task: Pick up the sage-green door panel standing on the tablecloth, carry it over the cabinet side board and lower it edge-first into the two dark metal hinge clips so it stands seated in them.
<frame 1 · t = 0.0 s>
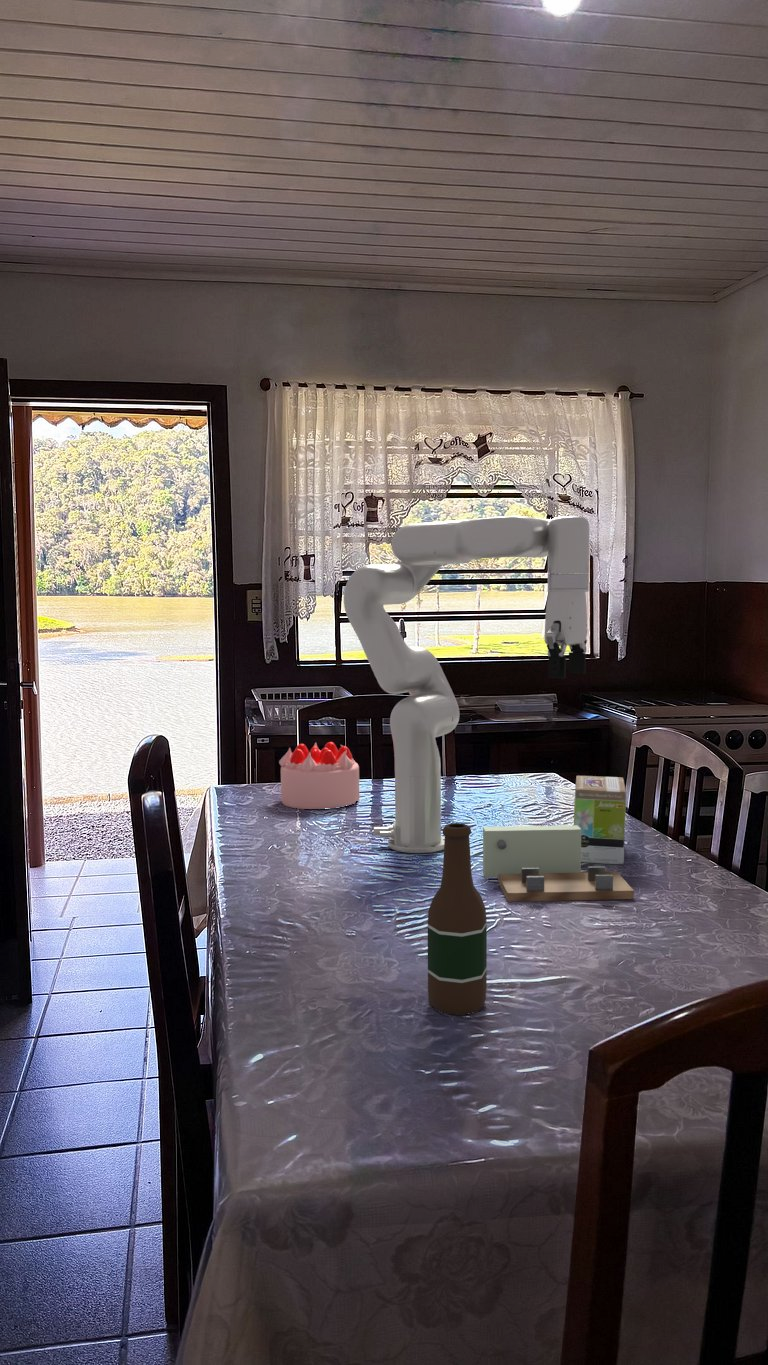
hand: (567, 675, 185), 37 cm above the table, tool pointing down, fingers open, 9 cm apart
beer bottle: (457, 1005, 130), on the table
cabinet side: (563, 890, 176), on the table
cake: (319, 802, 248), on the table
tea box: (598, 854, 199), on the table
hinge clips: (566, 878, 174), on the cabinet side, point 3 cm above the table
door: (531, 874, 186), on the table
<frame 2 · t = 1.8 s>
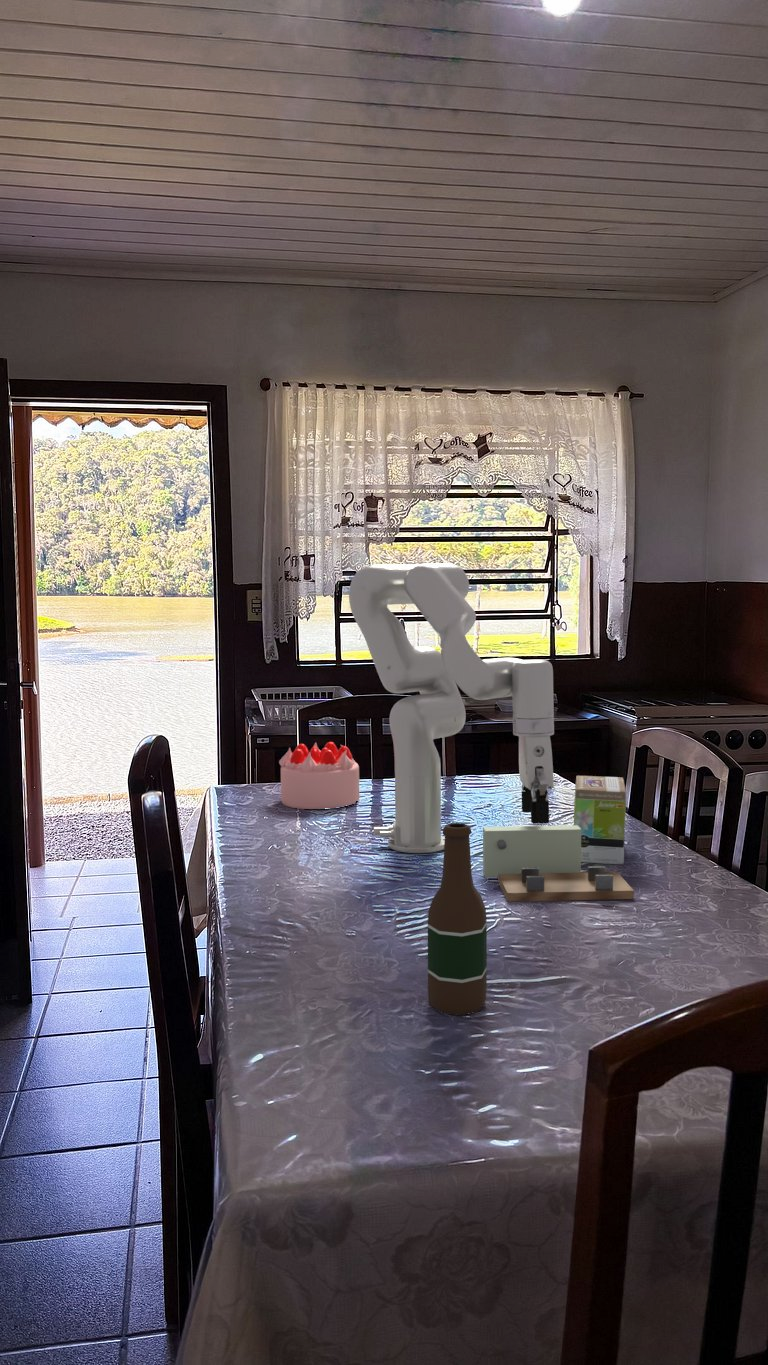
hand: (535, 817, 184), 11 cm above the table, tool pointing down, fingers open, 9 cm apart
nothing on the table moved.
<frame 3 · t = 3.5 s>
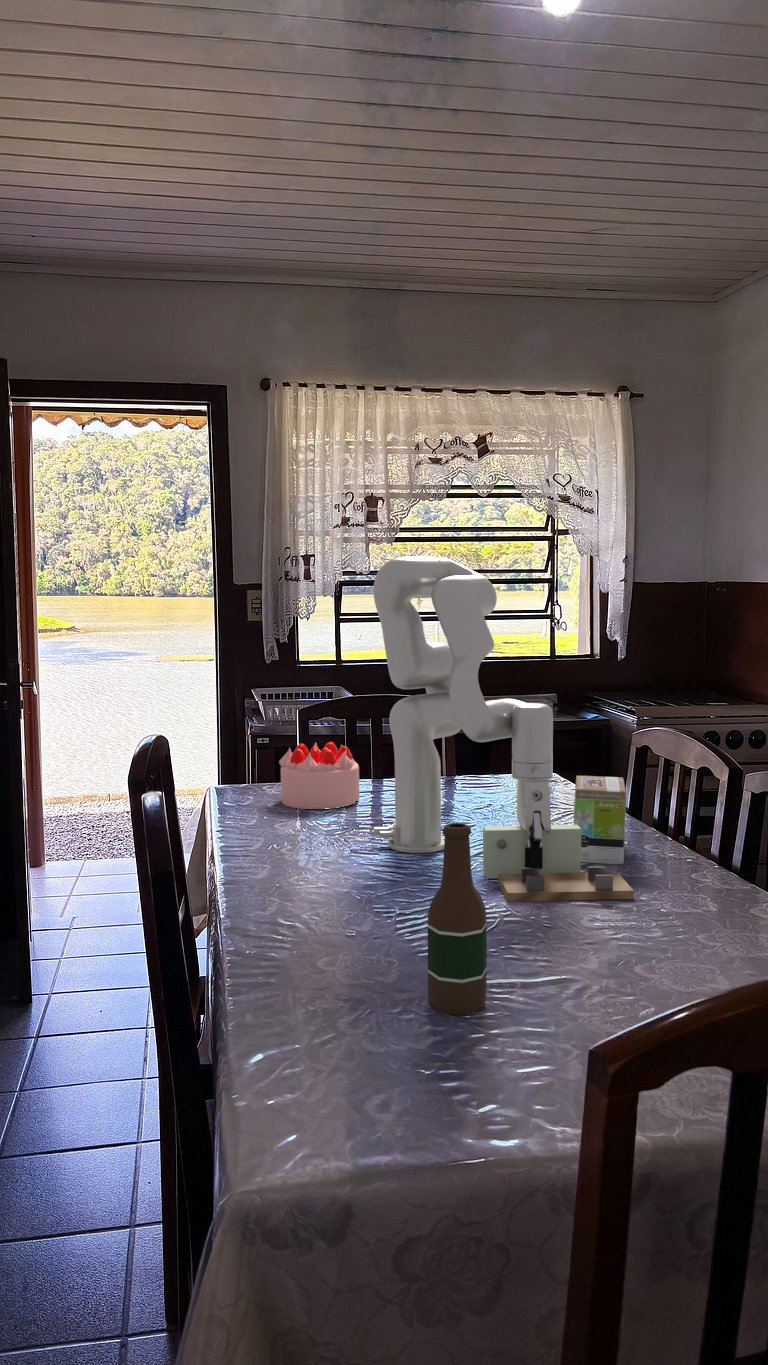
hand: (531, 864, 186), 2 cm above the table, tool pointing down, fingers closed on door, 3 cm apart
door: (531, 874, 186), on the table, touching gripper
everything else where it was.
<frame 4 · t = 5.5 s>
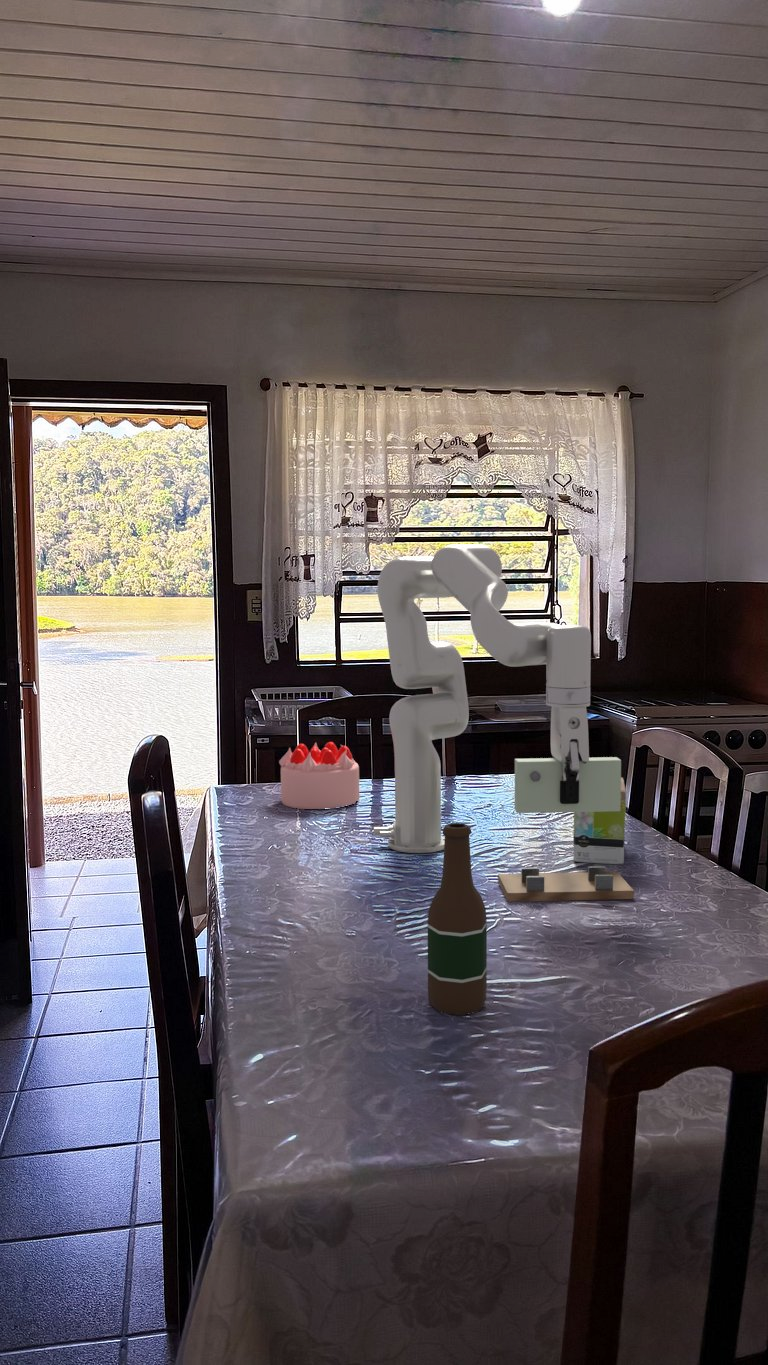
hand: (567, 800, 172), 17 cm above the table, tool pointing down, fingers closed on door, 3 cm apart
door: (567, 810, 173), point 15 cm above the table, touching gripper
everything else where it was.
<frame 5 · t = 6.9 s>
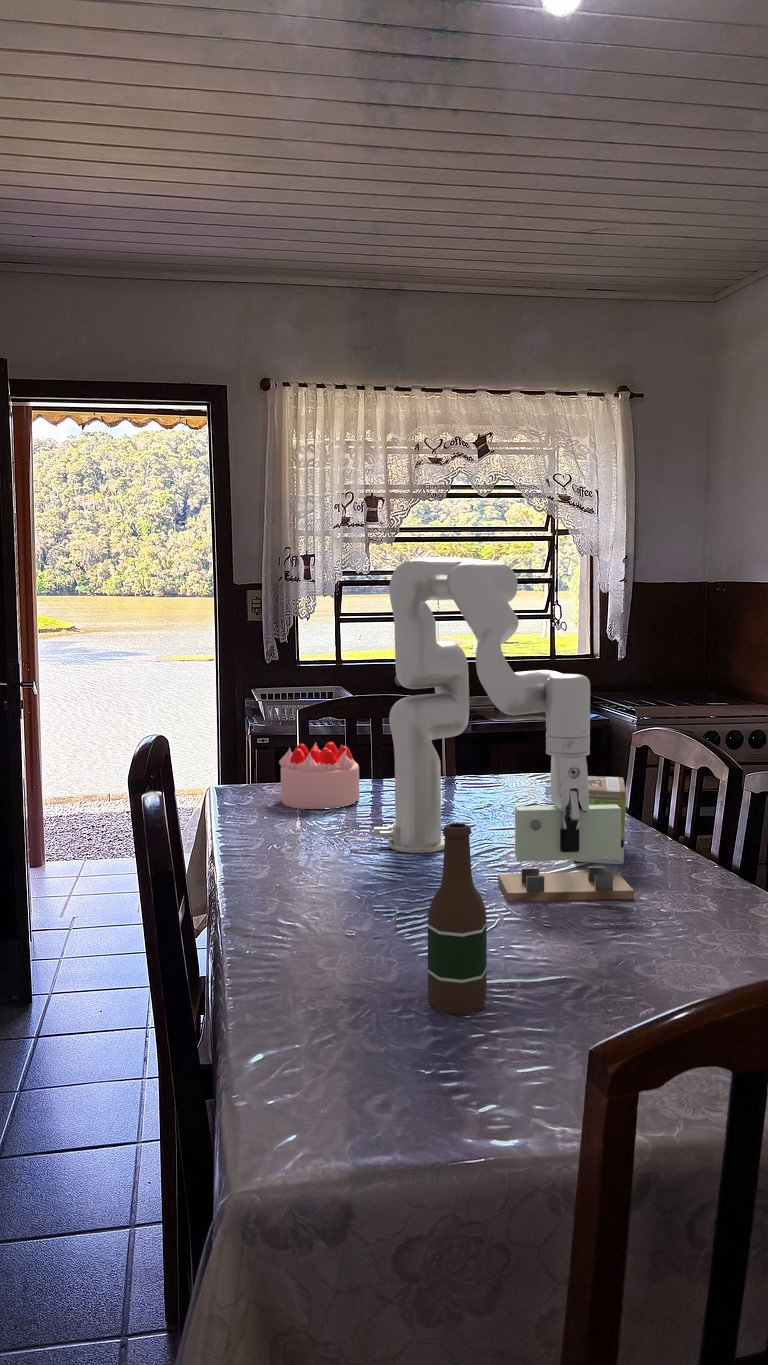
hand: (567, 847, 173), 8 cm above the table, tool pointing down, fingers closed on door, 3 cm apart
door: (567, 857, 173), point 7 cm above the table, touching gripper
everything else where it was.
when the fingers open (5 cm above the table, at t = 7.8 s): door drops 2 cm, resting on cabinet side.
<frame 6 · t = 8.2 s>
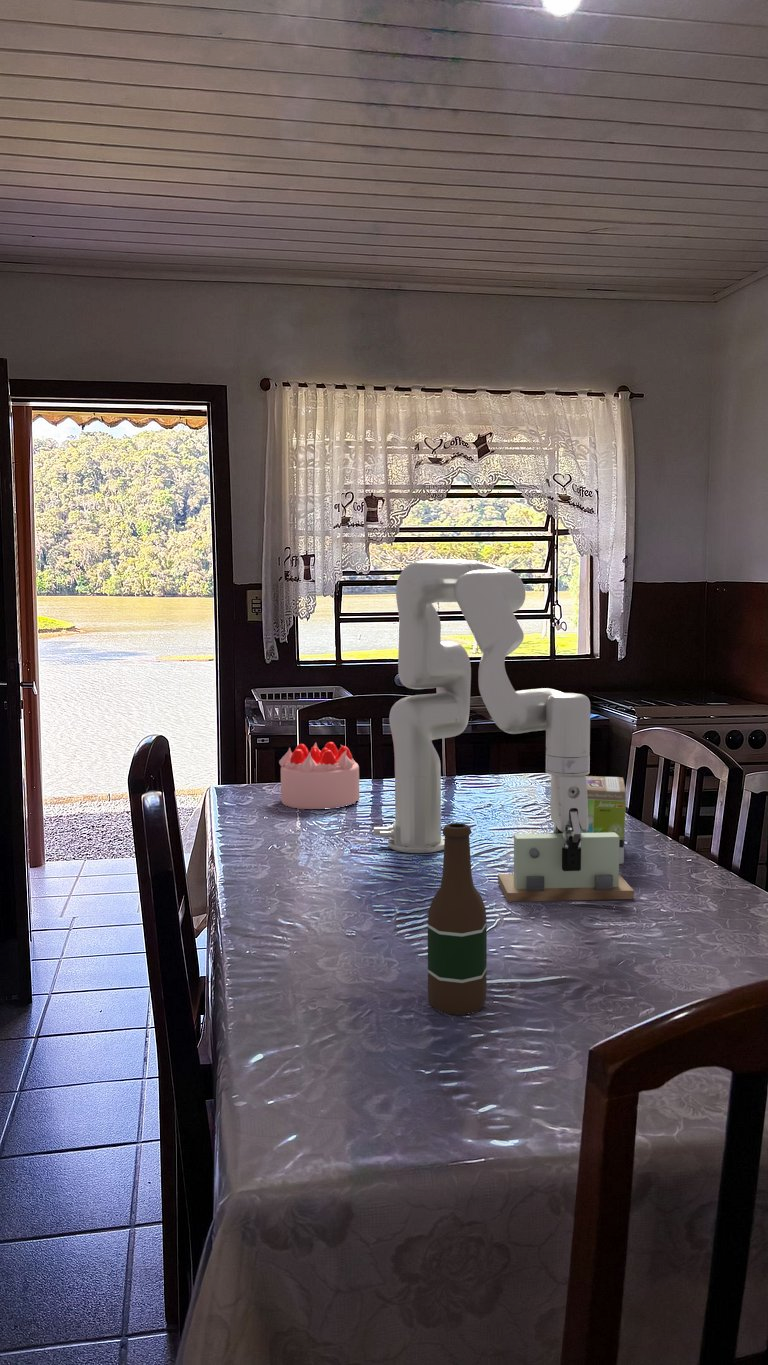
hand: (566, 863, 174), 5 cm above the table, tool pointing down, fingers open, 6 cm apart
door: (565, 885, 174), point 1 cm above the table, touching cabinet side
everything else where it was.
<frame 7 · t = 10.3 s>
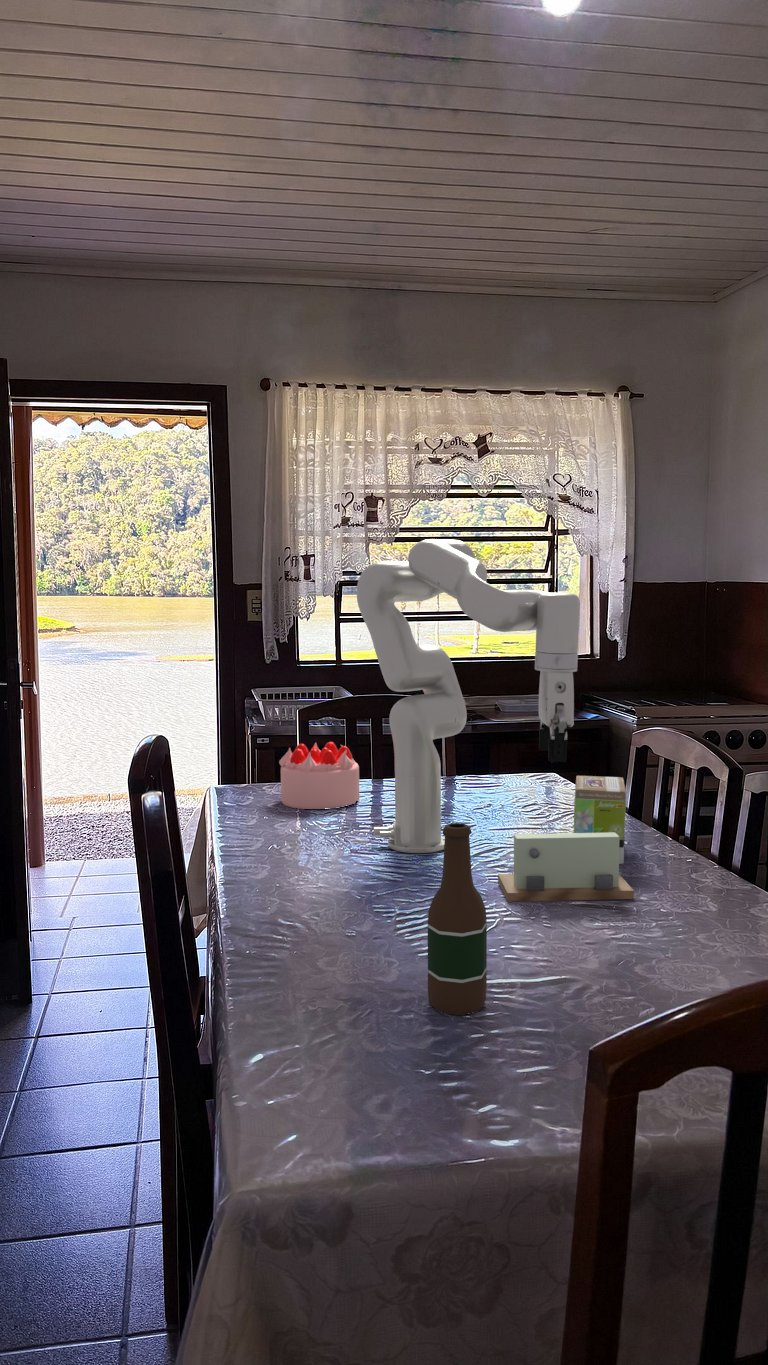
hand: (552, 755, 179), 23 cm above the table, tool pointing down, fingers open, 9 cm apart
nothing on the table moved.
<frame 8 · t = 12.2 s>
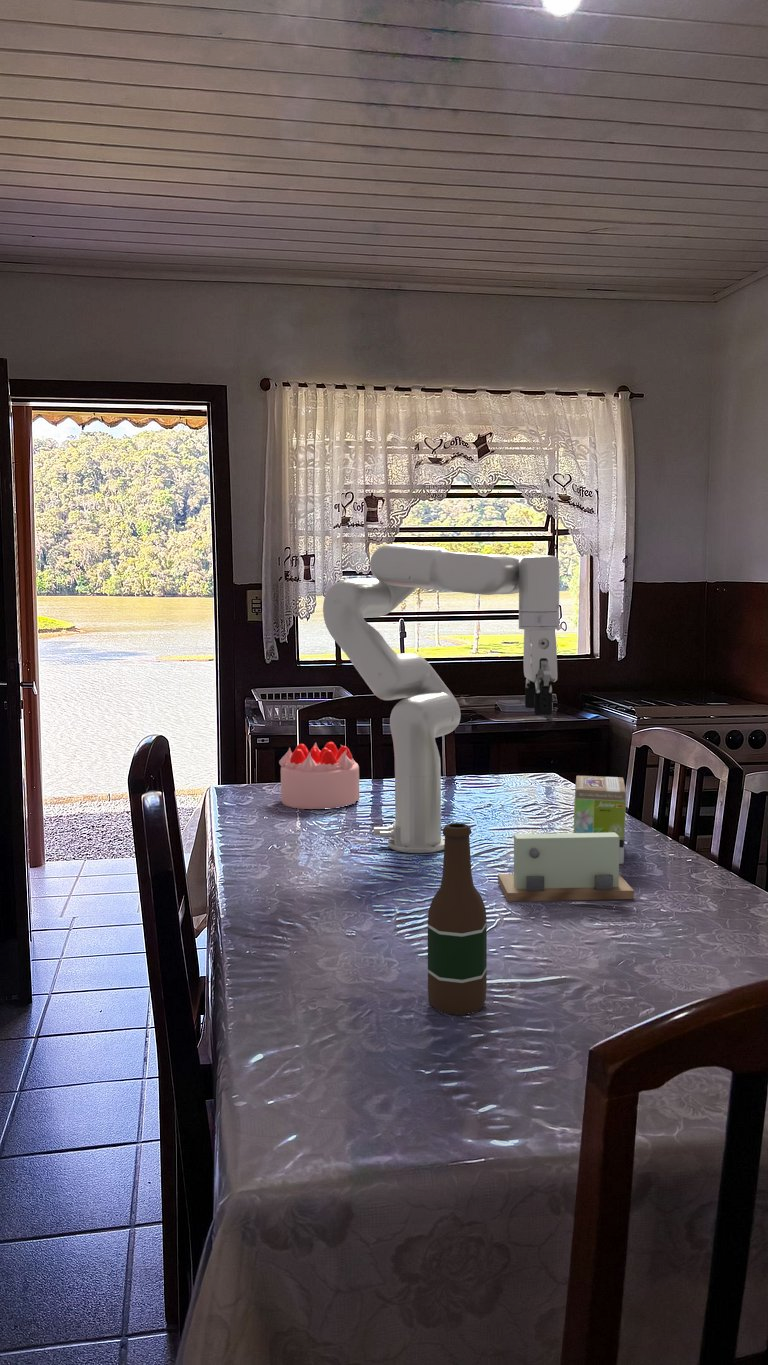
hand: (538, 711, 188), 30 cm above the table, tool pointing down, fingers open, 9 cm apart
nothing on the table moved.
at the end: door 0.1 cm from the target spot on the cabinet side, point 1.5 cm above the cabinet side's base; door tilted 0°; the gripper is holding nothing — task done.
